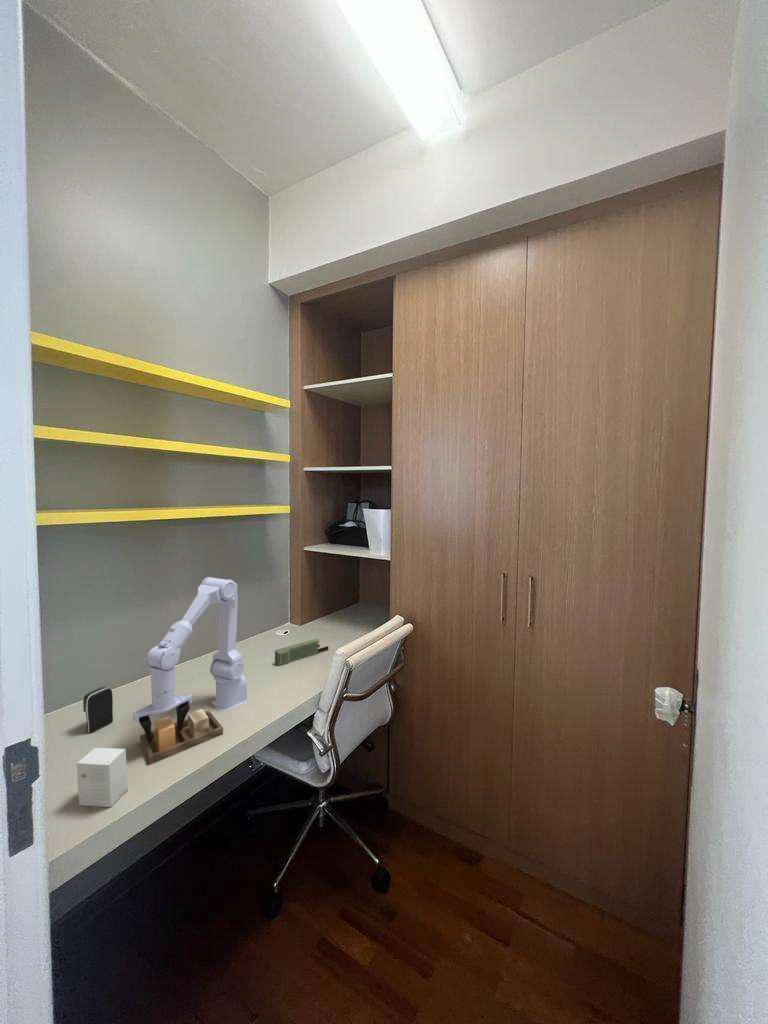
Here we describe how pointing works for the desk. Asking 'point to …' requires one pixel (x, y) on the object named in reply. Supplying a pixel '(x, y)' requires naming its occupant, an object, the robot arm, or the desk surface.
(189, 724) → the maple block
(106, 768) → the small box
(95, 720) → the battery charger
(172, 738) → the plug block
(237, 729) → the desk surface
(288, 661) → the handheld radio
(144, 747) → the slot rack
